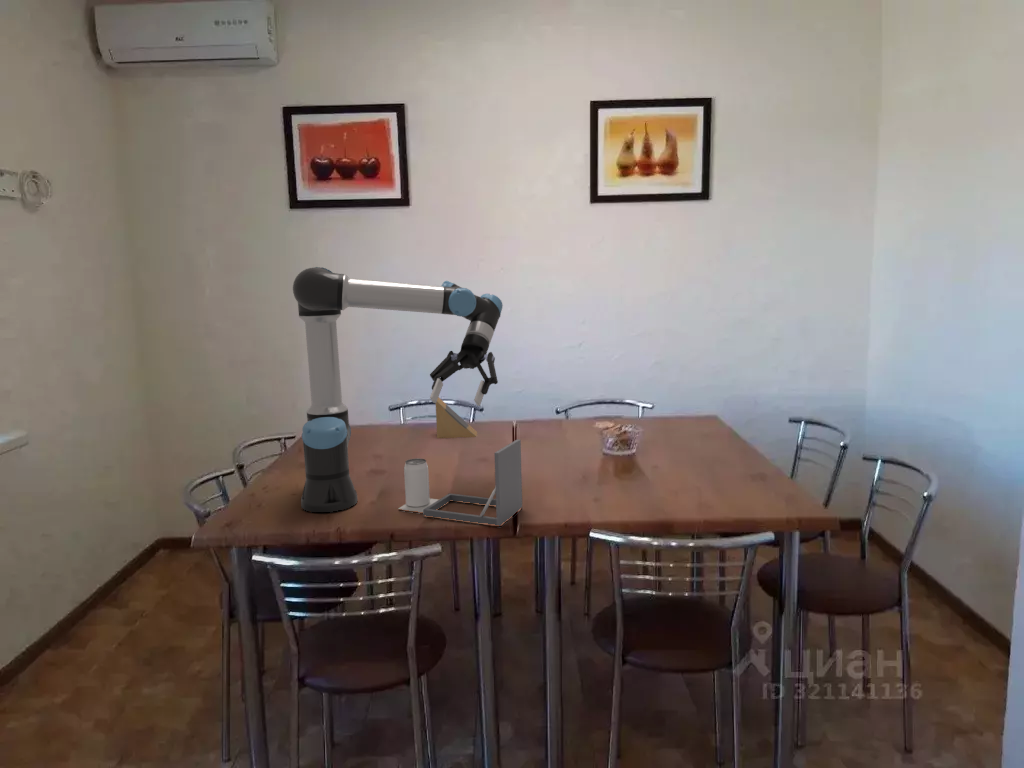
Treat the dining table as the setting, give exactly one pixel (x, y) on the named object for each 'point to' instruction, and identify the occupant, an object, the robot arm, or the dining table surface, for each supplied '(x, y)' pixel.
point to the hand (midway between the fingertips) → (454, 401)
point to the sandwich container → (451, 423)
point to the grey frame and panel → (506, 491)
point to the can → (416, 482)
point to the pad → (419, 509)
